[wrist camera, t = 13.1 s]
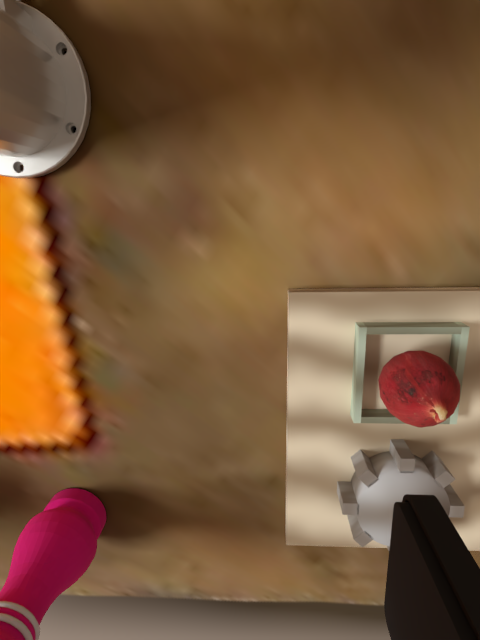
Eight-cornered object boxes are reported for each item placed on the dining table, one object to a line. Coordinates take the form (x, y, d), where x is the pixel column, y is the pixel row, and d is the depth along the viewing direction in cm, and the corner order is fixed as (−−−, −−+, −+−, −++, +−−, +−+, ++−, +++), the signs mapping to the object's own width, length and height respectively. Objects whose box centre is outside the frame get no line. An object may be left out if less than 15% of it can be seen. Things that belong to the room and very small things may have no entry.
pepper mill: (125, 520, 43) (13, 771, 24) (75, 550, 45) (-67, 808, 25) (80, 471, 42) (-75, 695, 23) (31, 503, 43) (-155, 739, 24)
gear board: (287, 288, 36) (291, 300, 31) (525, 286, 34) (563, 298, 30) (285, 533, 42) (287, 570, 38) (483, 539, 41) (508, 577, 37)
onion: (354, 373, 36) (379, 419, 28) (401, 324, 34) (440, 358, 27) (403, 411, 36) (440, 466, 29) (451, 365, 35) (503, 410, 27)
